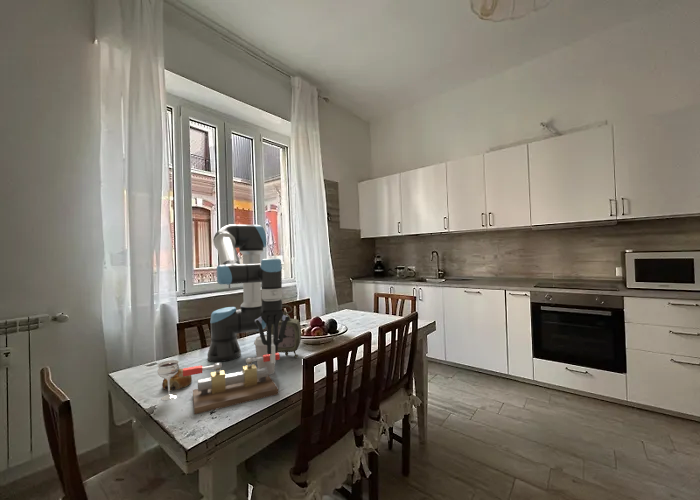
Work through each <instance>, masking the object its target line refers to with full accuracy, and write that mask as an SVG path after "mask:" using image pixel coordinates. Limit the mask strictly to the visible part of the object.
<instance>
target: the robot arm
mask: <svg viewBox="0 0 700 500" xmlns="http://www.w3.org/2000/svg"><path fill="white" fill-rule="evenodd" d="M212 242H213V246H214V248H215V249H216V250H217V254H218V260H219V265H217V267H216V282H217V284H219V285H228V286H230V285H236V284H237V285H238V284H242V286H243V287H242V290H243V291H242V293H243V295H242V296H243V297H242V298H243V302H242V303H241V304H240V306H239V307H240V309H237V308H236V306H228V307H222V308H219V309H216V310H213V311H212V312H211V314H210V322H209V323H210V345H209V347H208V348H209V349H208V351H207V356H206V357H207V360H208V361H209V362H215V363H223V362H227V361H231V360H235V359H237V358H239V357H240V356H241V355H242V351H241V350H242V349H241V346H240V344H239V342H238V338H237V335H238V334H243V333H250V332H251V333H252V332H258V334H259V336H260V337H261V341H262V343H263V344H264V345H267V353H268V354H270V362H271V363H275V364H276V360H275V353H279V352H278V344H279V343H280V342H283V338H284V333H285V328H286V324H287V322H288V320H289V317H288V316H285V315H284V314H283V312H284V311H283V307H282V305H283V300H282V298H283V290H282V289H283V288H282V283H283V282H282V281H283V279H282V278H283V276H282V274H283V273H282V272H283V271H282V269H283V266H282V260H281V259H280V258H262V259H261V254H262V253H263V252H264V248H266V247H267V235H266V230H265V229H264V227H263V226H262V225H260V224H231V223H230V224H227V225H224V226H223V227H221V228H219V229H218V230H217V231H216V232H215V233H214V236H213V241H212ZM237 248H238V250H239V253H240V255H242V263H241V262H240V258H239V255H238V252H237ZM281 318H282V323H281V328H280V332H279V337H278V323H279V321H280V320H281ZM272 324H273V343H274V344H271V327H272ZM264 329H266V334H265V332H264ZM265 335H267V341H266V339H265Z"/></svg>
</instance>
